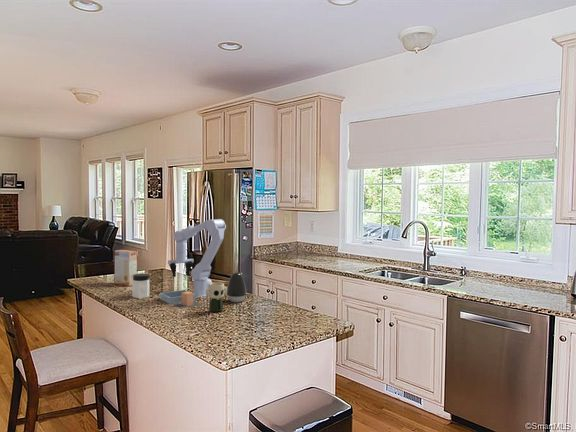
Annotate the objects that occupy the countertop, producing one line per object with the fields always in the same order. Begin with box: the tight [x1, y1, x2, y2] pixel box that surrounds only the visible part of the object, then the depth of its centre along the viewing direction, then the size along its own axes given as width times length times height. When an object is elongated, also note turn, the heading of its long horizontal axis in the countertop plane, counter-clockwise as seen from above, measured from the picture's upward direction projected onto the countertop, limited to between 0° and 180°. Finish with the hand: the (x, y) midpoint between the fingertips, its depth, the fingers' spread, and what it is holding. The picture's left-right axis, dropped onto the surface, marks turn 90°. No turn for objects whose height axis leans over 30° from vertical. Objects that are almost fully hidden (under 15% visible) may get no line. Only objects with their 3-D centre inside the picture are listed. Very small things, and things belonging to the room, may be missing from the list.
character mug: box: [205, 282, 228, 313], centre depth 203 cm, size 11×7×13 cm, turn 127°
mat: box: [172, 301, 203, 310], centre depth 213 cm, size 12×10×1 cm
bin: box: [158, 289, 197, 305], centre depth 223 cm, size 14×14×4 cm
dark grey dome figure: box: [226, 271, 247, 303], centre depth 224 cm, size 10×10×15 cm
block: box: [181, 290, 194, 306], centre depth 213 cm, size 4×4×6 cm
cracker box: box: [114, 249, 138, 287], centre depth 261 cm, size 14×6×21 cm, turn 58°
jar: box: [131, 273, 151, 299], centre depth 229 cm, size 9×8×12 cm
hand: (180, 276), depth 242 cm, fingers open, 7 cm apart
